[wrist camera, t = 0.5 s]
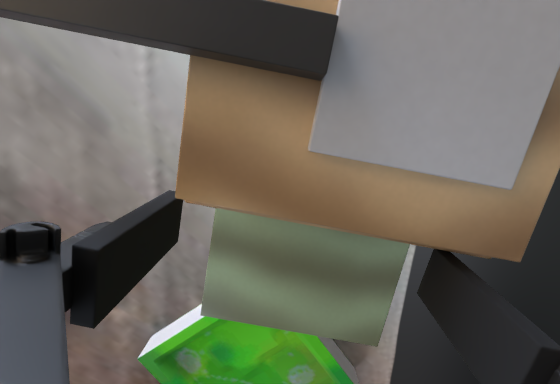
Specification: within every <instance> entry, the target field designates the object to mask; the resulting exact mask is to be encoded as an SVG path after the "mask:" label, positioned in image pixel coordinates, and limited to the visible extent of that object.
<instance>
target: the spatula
mask: <svg viewBox="0 0 560 384" xmlns="http://www.w3.org/2000/svg"><path fill="white" fill-rule="evenodd" d="M0 17H3V18H8V19H13V20H18V21H23V22H28V23H33V24H38V25H43V26H48V27H53V28H58V29H63V30H68V31H73V32H78V33H83V34H88V35H93V36H98V37H103V38H108V39H113V40H118V41H123V42H128V43H133V44H138V45H143V46H148V47H153V48H158V49H163V50H168V51H173V52H178V53H183V54H188V55H193V56H198V57H203V58H208V59H213V60H218V61H223V62H228V63H233V64H238V65H243V66H248V67H253V68H258V69H263V70H268V71H273V72H278V73H283V74H288V75H293V76H298V77H303V78H308V79H313V80H318V81H321V80H322V82H321V87H320V91H319V96H318V101H317V106H316V110H315V115H314V120H313V125H312V129H311V134H310V139H309V144H308V150H309V151H311V152H316V153H321V154H327V155H332V156H337V157H342V158H347V159H352V160H358V161H363V162H368V163H373V164H378V165H384V166H389V167H394V168H399V169H404V170H409V171H415V172H420V173H425V174H430V175H435V176H441V177H446V178H451V179H456V180H461V181H466V182H472V183H477V184H482V185H487V186H492V187H498V188H503V189H508V190H511V189H512V188H513V186H514V183H515V180H516V178H517V175H518V173H519V170H520V168H521V165H522V162H523V160H524V157H525V155H526V152H527V149H528V147H529V144H530V142H531V139H532V136H533V134H534V131H535V129H536V126H537V124H538V121H539V118H540V116H541V113H542V111H543V108H544V105H545V103H546V100H547V98H548V95H549V92H550V90H551V87H552V85H553V82H554V80H555V77H556V74H557V72H558V69H559V67H560V0H339V1H338V6H337V10H336V15H334V14H329V13H325V12H320V11H315V10H310V9H305V8H300V7H295V6H291V5H286V4H281V3H276V2H271V1H266V0H0Z"/></svg>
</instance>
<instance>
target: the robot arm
mask: <svg viewBox="0 0 560 384" xmlns="http://www.w3.org/2000/svg"><path fill="white" fill-rule="evenodd" d="M182 205H183V200H182V199H177V198H175V191H171V190H169V191H167V192H165V193H164V194H162V195H160V196H158V197H157V198H155V199H153V200H151V201H149V202H148V203H146V204H144V205H142V206H141V207H139V208H137V209H135V210H134V211H132V212H130V213H128V214H126V215H125V216H123V217H121V218H119V219H118V220H116V221H114V222H104V223H100V224H96V225H93V226H91V227H90V228H88V229H86V230H84V232H83V231H82V232H80V233H78V234H76V236H72V237H71V238H69V239H67V240H65V241H63V242H61V229H60V227H59V226H58V225H56V224H53V223H48V222H25V223H18V224H14V225H10V226H8V227H6V228H4V229H2V230H1V231H0V384H70V383H69V369H68V354H67V340H66V325H65V312H66V311H67V310H69V309H70V308H71V312H70V324H75V325H79V326H84V327H89V328H93V329H94V328H95V327H96V326H97V325H98V324H99V323H100V322H101V321H102V320H103V319H104V318H105V317H106V316H107V315H108V313H109V312H110V311H111V310H112V309H113V308H114V307H115V306H116V305H117V304H118V303H119V302H120V301H121V300H122V299H123V298H124V297H125V296H126V295H127V294H128V293H129V292H130V291H131V290H132V289H133V287H134V286H135V285H136V284H137V283H138V282H139V281H140V280H141V279H142V278H143V277H144V276H145V275H146V274H147V273H148V272H149V271H150V270H151V269H152V268H153V267H154V266H155V265H156V264H157V263H158V261H159V260H160V259H161V258H162V257H163V256H164V255H165V254H166V253H167V252H168V251H169V250H170V249H171V248H172V247H173V246H174V245H175V244H176V243H177V242H178V236H179V228H180V220H181V213H182ZM417 294H418V295H419V297H420V298H421V299H422V301H423V303H424V304H425V305H426V307H427V308H428V310H429V311H430V313H431V314H432V315H433V317H434V318H435V320H436V321H437V323H438V324H439V326H440V327H441V328H442V330H443V331H444V333H445V334H446V336H447V337H448V338H449V340H450V341H451V343H452V344H453V346H454V347H455V348H456V350H457V351H458V353H459V354H460V356H461V357H462V358H463V360H464V361H465V363H466V364H467V366H468V367H469V368H470V370H471V371H472V373H473V374H474V375H475V377H476V378H477V380H478V381H479V383H480V384H560V346H559V345H558V344H557V343H556V342H554V341H553V340H552V339H551V338H550V337H549V336H547V335H546V334H545V333H544V332H543V331H542V330H540V329H539V328H538V327H537V326H536V325H534V324H533V323H532V322H531V321H530V320H529V319H528V318H526V317H525V316H524V315H523V314H522V313H521V312H519V311H518V310H517V309H516V308H515V307H514V306H512V305H511V304H510V303H509V302H508V301H507V300H505V299H504V298H503V297H502V296H501V295H500V294H498V293H497V292H496V291H495V290H494V289H492V288H491V287H490V286H489V285H488V284H487V283H486V282H484V281H483V280H482V279H481V278H480V277H479V276H477V275H476V274H475V273H474V272H473V271H472V270H470V269H469V268H468V267H467V266H466V265H465V264H464V263H462V262H461V261H460V260H459V259H458V258H457V257H455V256H454V255H453V254H452V253H451V252H450V251H444V250H439V249H434V250H433V253H432V255H431V258H430V261H429V263H428V266H427V268H426V271H425V274H424V276H423V279H422V281H421V284H420V287H419V289H418V292H417Z"/></svg>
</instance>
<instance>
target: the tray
mask: <svg viewBox="0 0 560 384" xmlns="http://www.w3.org/2000/svg"><path fill="white" fill-rule="evenodd" d="M201 307H202V304H201V305H199V306H198V307H196V308H195V309H193V310H191V311H190V312H188V313H187V314H185V315H184V316H182V317H180V318H179V319H177V320H176V321H174V322H173V323H171V324H170V325H168V326H166V327H165V328H163V329H162V330H160V331H159V332H157V333H155V334H154V335H152V337H151V338H150V340H149V341H148V343H147V345H146V346H145V348H144V349H143V351H142V352H141V354H140V356H139V357H138V360H139V361H140V362H141V363H142V364H143V365H144V366H145V368H146V369H147V370H148V371H149V372H150V373H151V374H152V375H153V376H154V377H155V378H156V379H157V380H158V381H159V382H160V383H161V384H359V381H358V378H357V374H356V371H355V368H354V367H353V366H352V364H351V363H350V362H349V360H348V359H347V358H346V356H345V355H344V354H343V352H342V351H341V350H340V349H339V347H338V346H337V345H336V343H335V342H334V341H333V339H331V338H325V337H320V336H314V335H308V334H303V333H297V332H291V331H286V330H280V329H274V328H269V327H263V326H257V325H252V324H246V323H240V322H235V321H229V320H223V319H218V318H212V317H206V316H201V315H200V314H201Z"/></svg>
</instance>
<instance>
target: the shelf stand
mask: <svg viewBox="0 0 560 384" xmlns="http://www.w3.org/2000/svg"><path fill="white" fill-rule="evenodd" d="M266 1H271V2H276V3H281V4H286V5H291V6H295V7H300V8H305V9H310V10H315V11H320V12H325V13H329V14H334V15H336V10H337V6H338V1H339V0H266ZM321 82H322V80H321V81H318V80H313V79H308V78H303V77H298V76H293V75H288V74H283V73H278V72H273V71H268V70H263V69H258V68H253V67H248V66H243V65H238V64H233V63H228V62H223V61H218V60H213V59H208V58H203V57H198V56H193V55H190V62H189V72H188V81H187V90H186V99H185V109H184V118H183V127H182V136H181V146H180V155H179V164H178V173H177V183H176V192H175V198H177V199H182V200H186V202H187V203H192V204H197V205H203V206H208V207H213V208H216V210H215V217H214V224H213V231H212V238H211V245H210V252H209V259H208V265H207V272H206V279H205V286H204V293H203V300H202V307H201V314H200V315H201V316H206V317H212V318H218V319H223V320H229V321H235V322H240V323H246V324H252V325H257V326H263V327H269V328H274V329H280V330H286V331H291V332H297V333H303V334H308V335H314V336H320V337H325V338H331V339H337V340H342V341H348V342H354V343H359V344H365V345H371V346H378V343H379V340H380V337H381V334H382V330H383V327H384V324H385V321H386V318H387V315H388V311H389V308H390V305H391V302H392V299H393V296H394V293H395V289H396V286H397V283H398V280H399V277H400V274H401V270H402V267H403V264H404V261H405V258H406V255H407V251H408V248H409V245H410V244H412V245H417V246H423V247H428V248H433V249H439V250H444V251H450V252H456V253H460V254H466V255H471V256H477V257H482V258H487V259H491V257H494V258H499V259H504V260H510V261H515V262H520V261H521V259H522V257H523V254H524V252H525V249H526V247H527V245H528V242H529V240H530V238H531V235H532V233H533V230H534V228H535V225H536V223H537V221H538V218H539V216H540V214H541V211H542V209H543V206H544V204H545V202H546V199H547V197H548V194H549V192H550V190H551V187H552V185H553V183H554V180H555V178H556V175H557V173H558V171H559V168H560V67H559V69H558V72H557V74H556V77H555V80H554V82H553V85H552V87H551V90H550V92H549V95H548V98H547V100H546V103H545V105H544V108H543V111H542V113H541V116H540V118H539V121H538V124H537V126H536V129H535V131H534V134H533V136H532V139H531V142H530V144H529V147H528V149H527V152H526V155H525V157H524V160H523V162H522V165H521V168H520V170H519V173H518V175H517V178H516V180H515V183H514V186H513V188H512V189H511V190H508V189H503V188H498V187H492V186H487V185H482V184H477V183H472V182H466V181H461V180H456V179H451V178H446V177H441V176H435V175H430V174H425V173H420V172H415V171H409V170H404V169H399V168H394V167H389V166H384V165H378V164H373V163H368V162H363V161H358V160H352V159H347V158H342V157H337V156H332V155H327V154H321V153H316V152H311V151H309V150H308V144H309V139H310V134H311V129H312V125H313V120H314V115H315V110H316V106H317V101H318V96H319V91H320V87H321Z"/></svg>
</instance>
